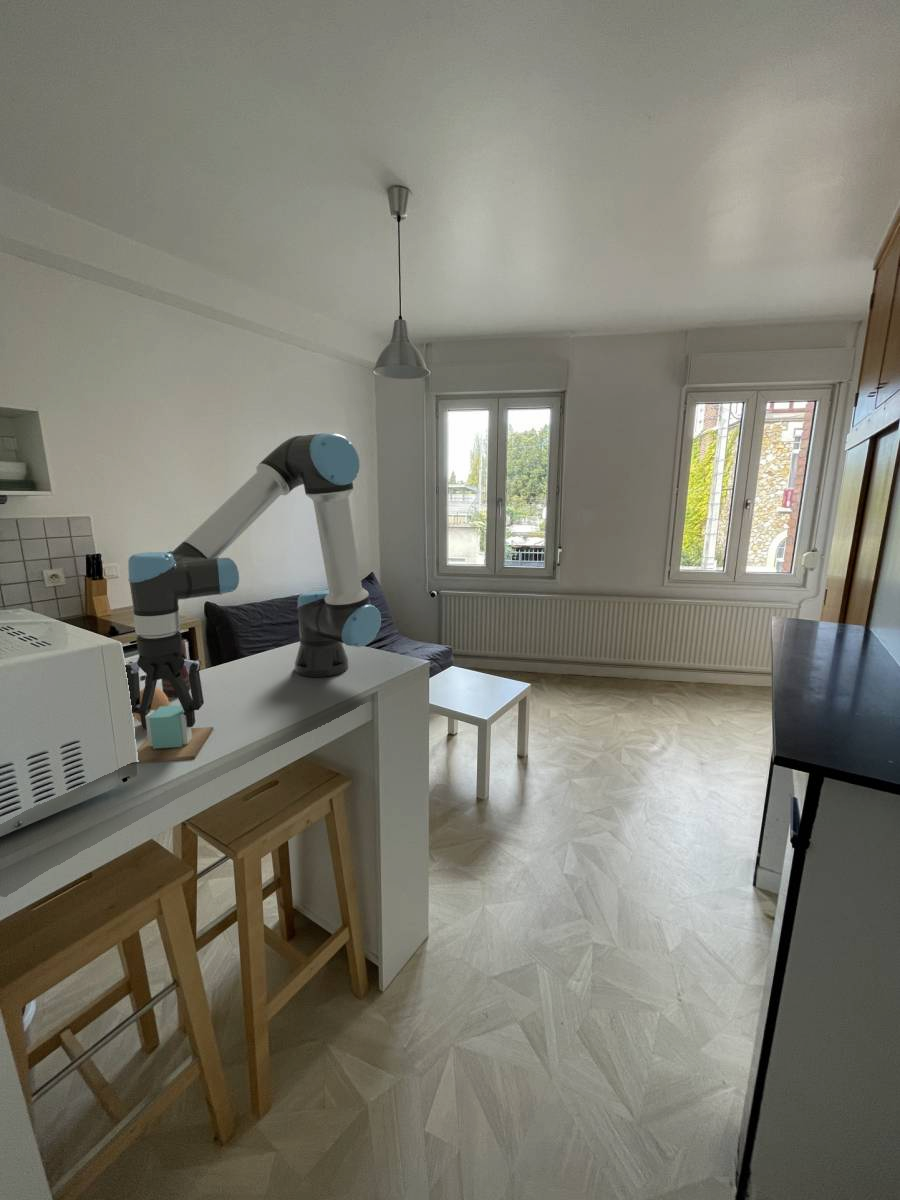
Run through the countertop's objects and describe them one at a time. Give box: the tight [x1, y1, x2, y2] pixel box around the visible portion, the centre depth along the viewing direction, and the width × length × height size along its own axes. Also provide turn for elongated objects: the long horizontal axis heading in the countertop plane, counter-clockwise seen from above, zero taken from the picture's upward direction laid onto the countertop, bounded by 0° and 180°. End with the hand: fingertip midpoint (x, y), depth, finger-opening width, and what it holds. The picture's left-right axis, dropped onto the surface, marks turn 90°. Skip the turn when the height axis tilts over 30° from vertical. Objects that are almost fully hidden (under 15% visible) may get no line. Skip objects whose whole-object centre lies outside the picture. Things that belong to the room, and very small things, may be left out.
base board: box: [136, 726, 215, 764], centre depth 100 cm, size 12×12×1 cm
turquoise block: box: [149, 704, 184, 749], centre depth 99 cm, size 5×5×7 cm
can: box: [160, 638, 191, 698], centre depth 124 cm, size 6×6×14 cm
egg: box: [133, 686, 170, 723], centre depth 108 cm, size 7×7×9 cm
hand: (170, 741), depth 100 cm, fingers open, 6 cm apart
